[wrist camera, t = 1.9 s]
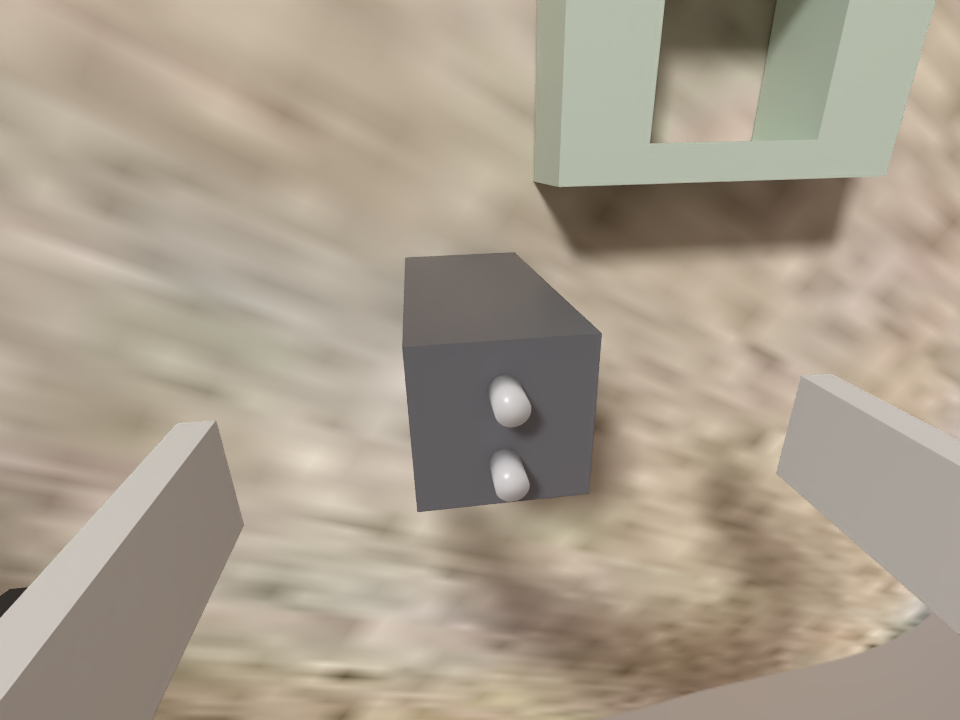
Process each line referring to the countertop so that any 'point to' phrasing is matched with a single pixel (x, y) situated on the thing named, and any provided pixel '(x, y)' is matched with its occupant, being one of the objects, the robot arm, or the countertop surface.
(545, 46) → the outlet plate
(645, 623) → the countertop surface
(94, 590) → the robot arm
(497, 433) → the charger
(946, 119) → the countertop surface
